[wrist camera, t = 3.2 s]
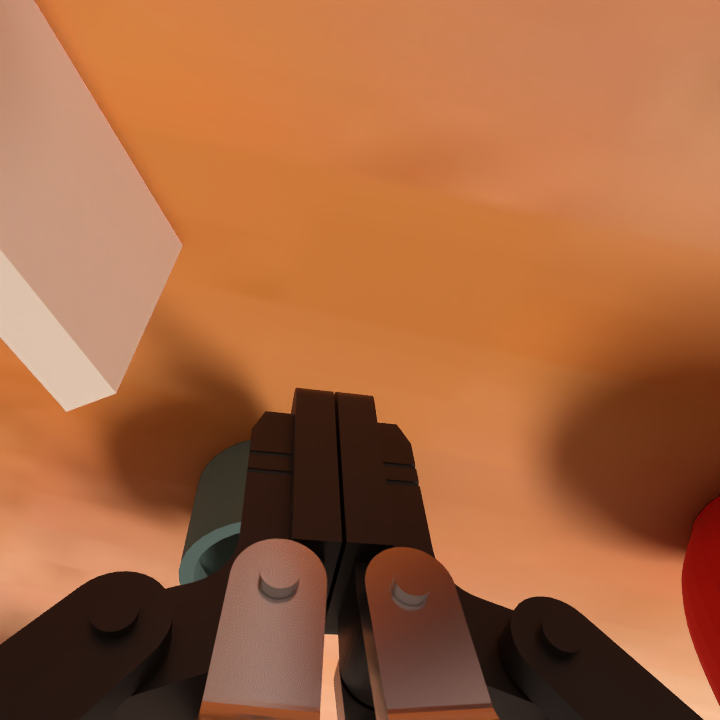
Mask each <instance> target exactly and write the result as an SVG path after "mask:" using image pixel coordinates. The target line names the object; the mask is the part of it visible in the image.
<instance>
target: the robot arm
mask: <svg viewBox="0 0 720 720" xmlns="http://www.w3.org/2000/svg"><path fill="white" fill-rule="evenodd" d="M418 483H419V481H418V476H417V471H416V469H415V461H414V457H413V452H412V447H411V443H410V442H409V441H408V439H407V438H406V437H405V435H404V434H403V432H402V431H401V430H400V428H399V427H398V426H397V425H396V424H386V423H377V417H376V410H375V403H374V398H373V396H368V395H359V394H350V393H341V392H335V394H334V393H333V392H330V391H321V390H312V389H303V388H296V389H295V393H294V398H293V404H292V411H291V414H286V413H277V412H267V411H266V412H265V413H264V414H263V415H262V417H261V418H260V419H259V421H258V422H257V423H256V424H255V426H254V427H253V428H252V435H251V443H250V451H249V460H248V468H247V477H246V485H245V493H244V502H243V510H242V518H241V527H240V535H239V541H238V545H237V548H236V550H235V552H234V554H233V555H232V557H231V559H230V560H229V561H228V562H227V563H226V564H225V565H224V566H223V567H222V568H221V569H219V570H218V571H217V572H215V573H213V574H212V575H210V576H208V577H206V578H204V579H201V580H198V581H195V582H192V583H188V584H183V585H179V586H175V587H171V588H167V589H165V588H164V587H163V586H162V585H161V584H160V583H159V582H157V581H156V580H155V579H153V578H151V577H149V576H147V575H145V574H141V573H137V572H128V571H124V572H113V573H108V574H105V575H102V576H98V577H96V578H94V579H92V580H90V581H88V582H86V583H85V584H83V585H82V586H80V587H79V588H77V589H76V590H75V591H73V592H72V593H71V594H69V595H68V596H66V597H65V598H64V599H62V600H61V601H60V602H58V603H57V604H55V605H54V606H53V607H51V608H50V609H49V610H47V611H46V612H44V613H43V614H42V615H40V616H39V617H38V618H36V619H35V620H34V621H32V622H31V623H29V624H28V625H27V626H25V627H24V628H23V629H21V630H20V631H18V632H17V633H16V634H14V635H13V636H12V637H10V638H9V639H7V640H6V641H5V642H3V643H2V644H1V645H0V720H320V702H321V684H322V667H323V649H324V634H337V635H338V639H339V660H338V664H337V667H336V670H335V675H334V690H335V699H336V709H337V718H338V720H703V719H702V718H701V717H700V716H699V715H698V714H696V713H695V712H694V711H693V710H692V709H691V708H690V707H688V706H687V705H686V704H685V703H684V702H683V701H681V700H680V699H679V698H678V697H677V696H676V695H675V694H673V693H672V692H671V691H670V690H669V689H668V688H667V687H665V686H664V685H663V684H662V683H661V682H660V681H658V680H657V679H656V678H655V677H654V676H653V675H652V674H650V673H649V672H648V671H647V670H646V669H645V668H643V667H642V666H641V665H640V664H639V663H638V662H637V661H635V660H634V659H633V658H632V657H631V656H630V655H628V654H627V653H626V652H625V651H624V650H623V649H622V648H620V647H619V646H618V645H617V644H616V643H615V642H613V641H612V640H611V639H610V638H609V637H608V636H607V635H605V634H604V633H603V632H602V631H601V630H600V629H599V628H597V627H596V626H595V625H594V624H593V623H592V622H590V621H589V620H588V619H587V618H586V617H585V616H584V615H582V614H581V613H580V612H579V611H577V610H576V609H575V608H573V607H571V606H570V605H568V604H566V603H564V602H562V601H560V600H557V599H554V598H549V597H531V598H528V599H526V600H524V601H522V602H521V603H519V604H518V606H517V607H516V608H515V610H511V609H508V608H505V607H503V606H500V605H497V604H494V603H492V602H489V601H486V600H483V599H481V598H478V597H476V596H473V595H471V594H469V593H467V592H466V591H464V590H462V589H461V588H460V587H458V586H457V585H455V584H454V582H453V579H452V577H451V576H450V574H449V572H448V571H447V570H446V568H445V567H444V566H443V565H442V564H441V563H440V562H439V561H438V560H436V559H435V556H434V552H433V548H432V543H431V539H430V534H429V529H428V524H427V519H426V514H425V510H424V505H423V500H422V495H421V490H420V486H418Z"/></svg>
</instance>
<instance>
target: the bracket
mask: <svg viewBox="0 0 720 720" xmlns="http://www.w3.org/2000/svg"><path fill="white" fill-rule="evenodd" d="M250 443H251V440H248V441H245V442H241V443H238V444H236V445H234V446H232V447H229V448H227V449H225V450H224V451H222V452H221V453H219V454H218V455H217V456H215V457H214V458H213V459H212V460H211V461H210V462H209V463H208V464H207V466H206V467H205V469H204V470H203V472H202V474H201V476H200V479H199V483H198V487H197V491H196V496H195V500H194V505H193V509H192V514H191V518H190V523H189V528H188V532H187V537H186V541H185V546H184V550H183V555H182V559H181V564H180V569H179V582H180V584H181V585H183V584H188V583H192V582H195V581H198V580H201V579H204V578H206V577H208V576H210V575H212V574H213V573H215V572H217V571H218V570H219V569H221V568H222V567H223V566H224V565H225V564H226V563H227V562H228V561H229V560H230V559H231V557H232V555H233V554H234V552H235V550H236V548H237V545H238V541H239V534H237V533H240V527H241V518H242V510H243V502H244V493H245V485H246V477H247V468H248V460H249V451H250Z"/></svg>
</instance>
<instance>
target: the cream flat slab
mask: <svg viewBox="0 0 720 720" xmlns="http://www.w3.org/2000/svg"><path fill="white" fill-rule="evenodd" d="M182 246H183V245H182V243H181V242H180V240H179V238H178V237H177V235H176V233H175V232H174V230H173V228H172V227H171V225H170V223H169V222H168V220H167V219H166V217H165V215H164V214H163V212H162V210H161V209H160V207H159V205H158V204H157V202H156V200H155V199H154V197H153V195H152V194H151V192H150V191H149V189H148V187H147V186H146V184H145V182H144V181H143V179H142V177H141V176H140V174H139V172H138V171H137V169H136V167H135V166H134V164H133V162H132V161H131V159H130V158H129V156H128V154H127V153H126V151H125V149H124V148H123V146H122V144H121V143H120V141H119V139H118V138H117V136H116V134H115V133H114V131H113V129H112V128H111V126H110V125H109V123H108V121H107V120H106V118H105V116H104V115H103V113H102V111H101V110H100V108H99V106H98V105H97V103H96V101H95V100H94V98H93V97H92V95H91V93H90V92H89V90H88V88H87V87H86V85H85V83H84V82H83V80H82V78H81V77H80V75H79V73H78V72H77V70H76V68H75V67H74V65H73V64H72V62H71V60H70V59H69V57H68V55H67V54H66V52H65V50H64V49H63V47H62V45H61V44H60V42H59V40H58V39H57V37H56V35H55V34H54V32H53V31H52V29H51V27H50V26H49V24H48V22H47V21H46V19H45V17H44V16H43V14H42V12H41V11H40V9H39V7H38V6H37V4H36V2H35V1H34V0H0V337H1V339H2V340H3V341H4V342H5V343H6V344H7V345H8V346H9V348H10V349H11V350H12V351H13V352H14V353H15V354H16V355H17V357H18V358H19V359H20V360H21V361H22V362H23V363H24V364H25V366H26V367H27V368H28V369H29V370H30V371H31V372H32V373H33V375H34V376H35V377H36V378H37V379H38V380H39V381H40V382H41V384H42V385H43V386H44V387H45V388H46V389H47V390H48V391H49V393H50V394H51V395H52V396H53V397H54V398H55V399H56V400H57V402H58V403H59V404H60V405H61V406H62V407H63V408H64V409H65V411H66V412H67V411H69V410H72V409H75V408H78V407H80V406H83V405H86V404H89V403H91V402H94V401H97V400H99V399H102V398H105V397H108V396H110V395H113V394H116V393H117V391H118V388H119V386H120V384H121V382H122V379H123V377H124V375H125V373H126V371H127V368H128V366H129V364H130V362H131V359H132V357H133V355H134V353H135V350H136V348H137V346H138V344H139V342H140V339H141V337H142V335H143V333H144V330H145V328H146V326H147V324H148V322H149V319H150V317H151V315H152V313H153V310H154V308H155V306H156V304H157V302H158V299H159V297H160V295H161V293H162V290H163V288H164V286H165V284H166V282H167V279H168V277H169V275H170V273H171V270H172V268H173V266H174V264H175V262H176V259H177V257H178V255H179V253H180V250H181V248H182Z"/></svg>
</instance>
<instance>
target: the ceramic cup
mask: <svg viewBox="0 0 720 720" xmlns="http://www.w3.org/2000/svg"><path fill="white" fill-rule="evenodd" d="M682 595H683V603H684V610H685V616H686V620H687V625H688V628H689V632H690V635H691V638H692V641H693V644H694V647H695V650H696V653H697V655H698V658H699V660H700V663H701V665H702V668H703V670H704V672H705V675H706V677H707V679H708V682H709V684H710V686H711V688H712V691H713V693H714V695H715V697H716V699H717V701H718V703H719V705H720V496H719V497H717V498H716V499H715V500H713V501H712V502H711V503H709V504H708V505H707V506H706V507H705V508H704V509H703V510H702V511H701V513H700V514H699V515H698V517H697V518H696V520H695V522H694V524H693V528H692V535H691V538H690V540H689V543H688V547H687V551H686V555H685V559H684V563H683V570H682Z"/></svg>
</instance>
